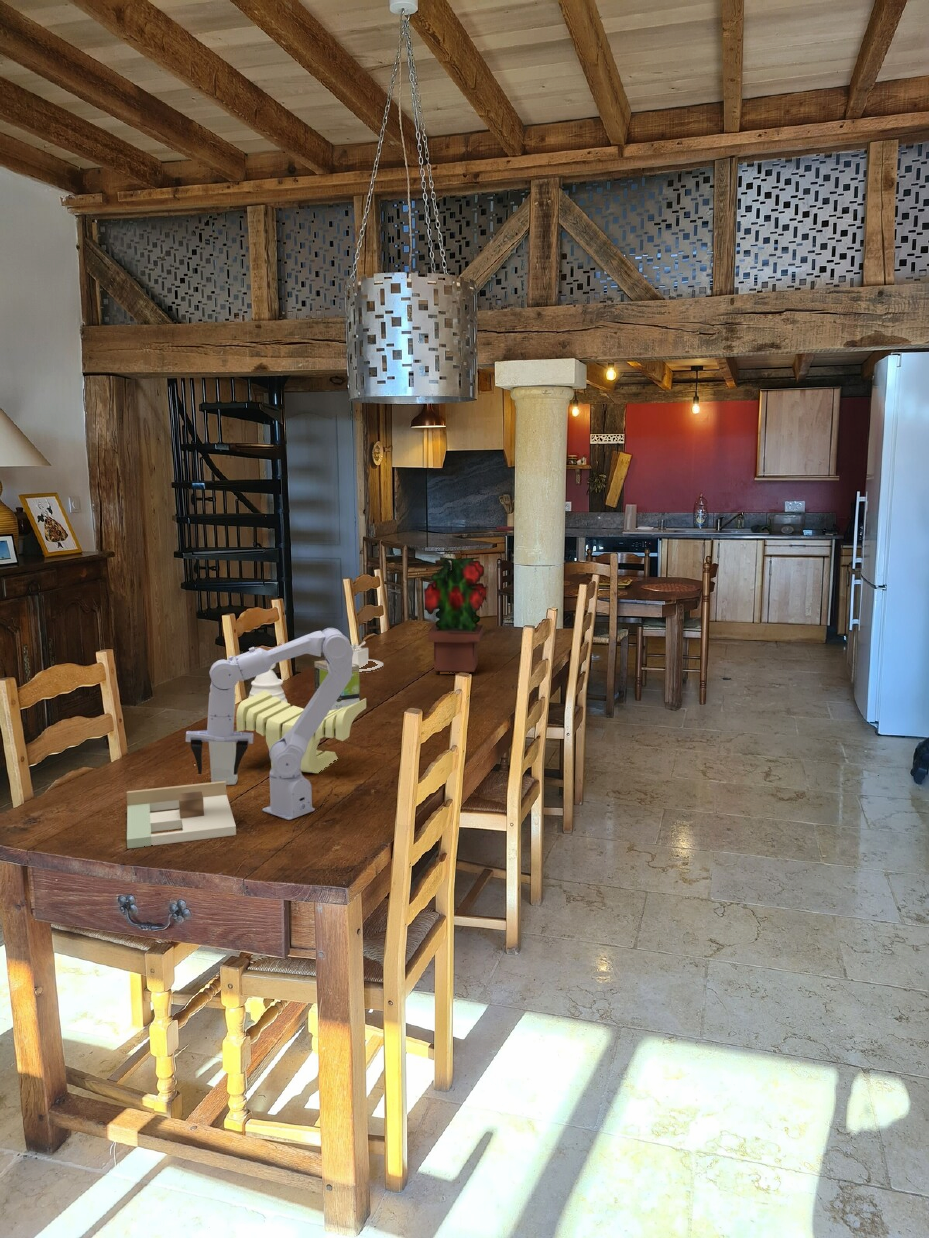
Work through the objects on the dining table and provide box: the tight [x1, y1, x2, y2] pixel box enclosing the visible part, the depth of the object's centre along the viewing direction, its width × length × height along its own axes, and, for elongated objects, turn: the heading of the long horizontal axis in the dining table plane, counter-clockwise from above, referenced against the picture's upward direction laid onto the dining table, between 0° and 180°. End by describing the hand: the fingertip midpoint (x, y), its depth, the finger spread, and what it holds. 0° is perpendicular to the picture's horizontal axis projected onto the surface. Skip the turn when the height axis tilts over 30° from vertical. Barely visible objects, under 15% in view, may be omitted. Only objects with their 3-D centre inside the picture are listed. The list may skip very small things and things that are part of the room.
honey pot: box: [248, 663, 288, 703], centre depth 290 cm, size 13×13×18 cm
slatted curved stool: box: [235, 690, 367, 774], centre depth 241 cm, size 30×16×18 cm, turn 74°
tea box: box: [313, 659, 361, 710], centre depth 306 cm, size 15×10×15 cm, turn 34°
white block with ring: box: [351, 640, 384, 672], centre depth 368 cm, size 25×25×11 cm
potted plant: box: [423, 556, 488, 674], centre depth 357 cm, size 22×22×45 cm
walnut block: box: [178, 791, 204, 819], centre depth 202 cm, size 5×5×4 cm
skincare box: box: [208, 742, 239, 786], centre depth 228 cm, size 6×4×12 cm
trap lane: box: [126, 781, 237, 850], centre depth 202 cm, size 22×22×5 cm
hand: (217, 772), depth 204 cm, fingers open, 7 cm apart
